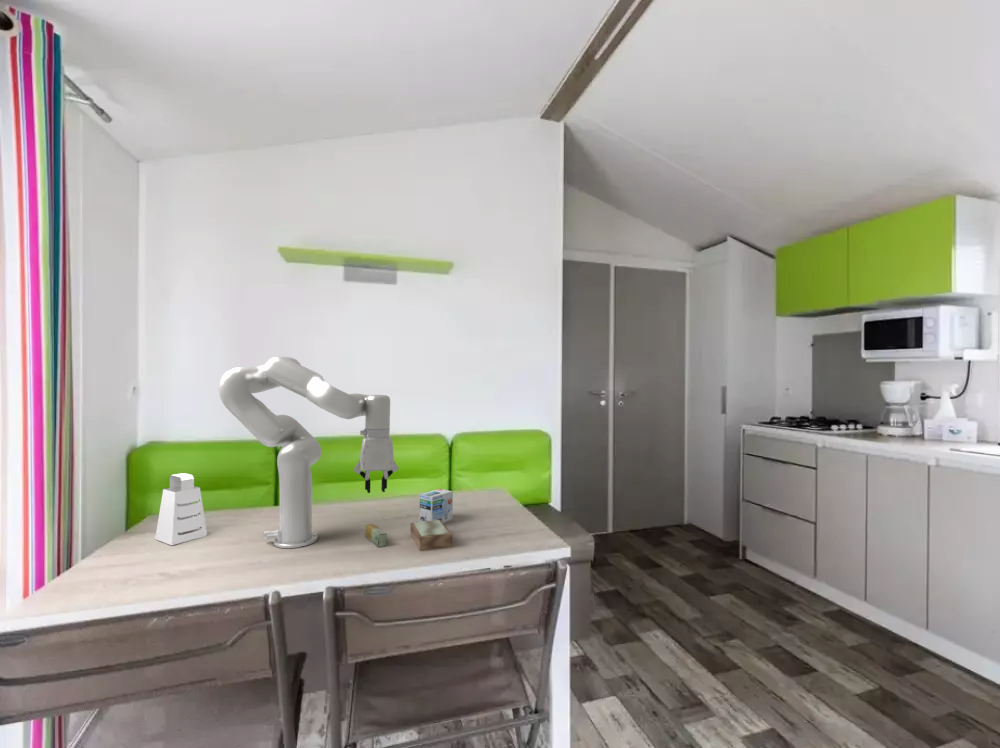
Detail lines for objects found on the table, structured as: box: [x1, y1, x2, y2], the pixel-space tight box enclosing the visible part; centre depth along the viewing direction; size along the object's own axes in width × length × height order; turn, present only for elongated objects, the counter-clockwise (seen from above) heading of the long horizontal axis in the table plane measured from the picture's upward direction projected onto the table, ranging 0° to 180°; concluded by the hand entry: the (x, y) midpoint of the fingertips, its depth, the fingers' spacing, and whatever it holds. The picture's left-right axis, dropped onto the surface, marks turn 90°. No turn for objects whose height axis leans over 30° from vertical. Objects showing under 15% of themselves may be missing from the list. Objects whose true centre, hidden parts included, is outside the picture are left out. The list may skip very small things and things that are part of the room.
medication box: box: [364, 523, 388, 548], centre depth 152 cm, size 12×3×4 cm, turn 36°
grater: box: [154, 472, 208, 546], centre depth 154 cm, size 10×10×20 cm
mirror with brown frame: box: [410, 520, 453, 552], centre depth 152 cm, size 10×15×4 cm, turn 21°
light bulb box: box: [419, 488, 454, 523], centre depth 171 cm, size 11×7×11 cm, turn 143°
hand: (375, 490), depth 152 cm, fingers open, 3 cm apart
